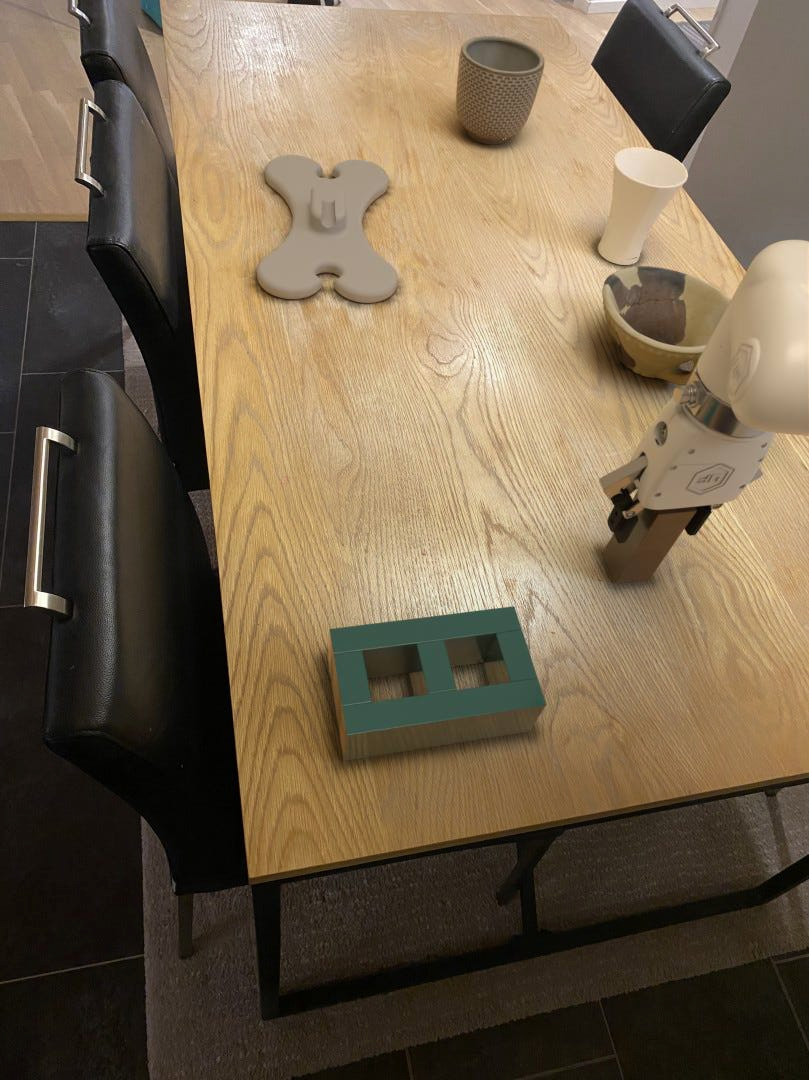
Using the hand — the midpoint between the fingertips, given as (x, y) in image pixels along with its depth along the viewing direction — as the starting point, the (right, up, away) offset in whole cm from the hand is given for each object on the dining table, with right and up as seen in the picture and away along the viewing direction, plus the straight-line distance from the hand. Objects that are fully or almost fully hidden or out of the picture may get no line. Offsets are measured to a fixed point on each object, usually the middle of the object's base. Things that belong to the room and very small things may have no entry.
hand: (651, 526), depth 75 cm
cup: (+8, +43, +41) cm, 60 cm away
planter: (-10, +70, +58) cm, 91 cm away
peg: (-1, -4, +6) cm, 7 cm away
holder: (-36, +44, +36) cm, 67 cm away
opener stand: (-22, -16, -5) cm, 28 cm away
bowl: (+8, +23, +27) cm, 36 cm away
